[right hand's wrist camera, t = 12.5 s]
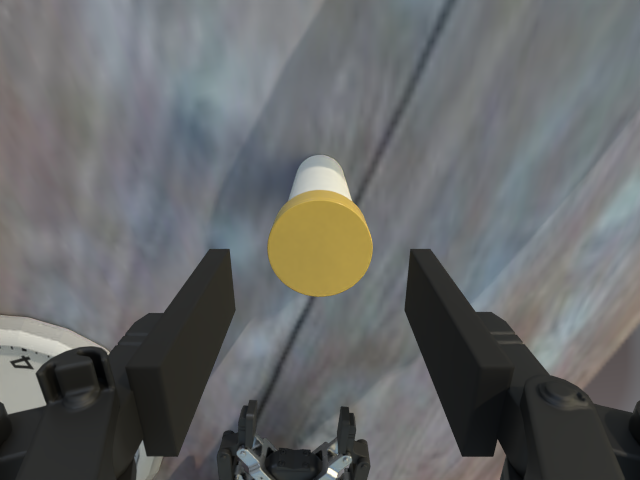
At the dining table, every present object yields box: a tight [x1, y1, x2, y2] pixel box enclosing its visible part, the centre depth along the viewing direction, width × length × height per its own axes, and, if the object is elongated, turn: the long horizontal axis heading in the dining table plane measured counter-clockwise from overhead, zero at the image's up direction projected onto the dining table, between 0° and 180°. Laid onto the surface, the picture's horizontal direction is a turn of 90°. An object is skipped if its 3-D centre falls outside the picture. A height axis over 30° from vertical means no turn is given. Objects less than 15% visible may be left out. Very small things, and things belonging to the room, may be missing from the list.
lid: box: [267, 190, 373, 297], centre depth 18 cm, size 5×5×2 cm
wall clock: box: [0, 315, 163, 480], centre depth 42 cm, size 30×2×30 cm
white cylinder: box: [288, 155, 352, 201], centre depth 25 cm, size 4×4×16 cm
